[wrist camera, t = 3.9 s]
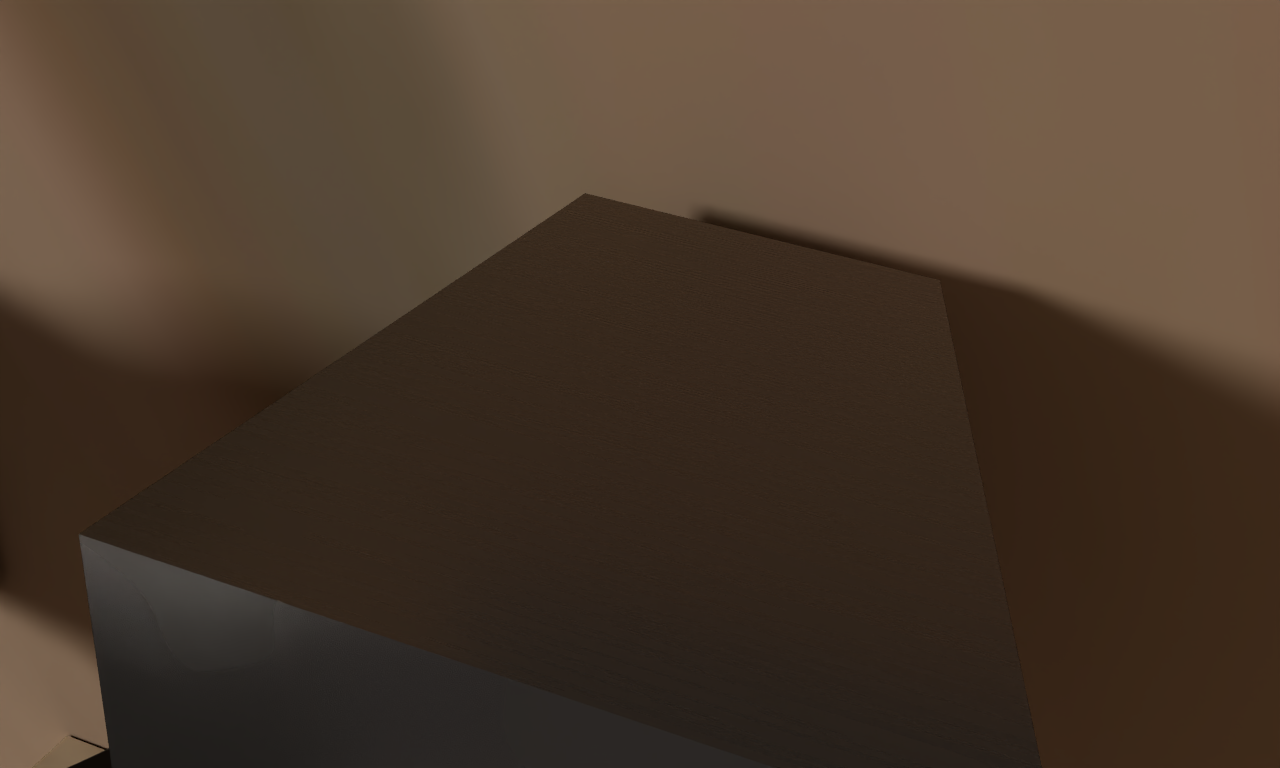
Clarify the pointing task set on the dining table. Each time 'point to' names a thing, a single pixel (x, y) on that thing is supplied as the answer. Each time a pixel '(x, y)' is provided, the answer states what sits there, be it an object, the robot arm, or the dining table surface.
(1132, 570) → the dining table surface
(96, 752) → the compartment tray
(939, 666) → the grey rectangular block
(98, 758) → the robot arm
